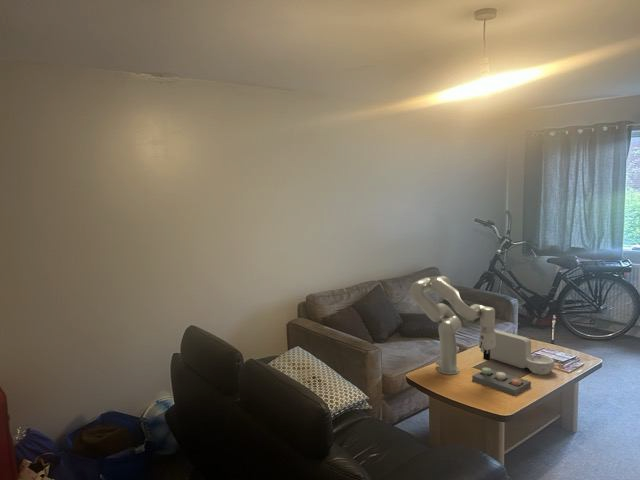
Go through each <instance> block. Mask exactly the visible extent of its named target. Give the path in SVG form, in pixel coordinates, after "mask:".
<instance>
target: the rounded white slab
mask: <svg viewBox="0 0 640 480" xmlns="http://www.w3.org/2000/svg"><path fill="white" fill-rule="evenodd" d="M495 335H496V346H495V347H494V348H492V349H491V353H490V359H492V360H496V361H499V362H501V363H505V364H508V365H510V366H514V367H515V368H516V367H517V368H520V369H525V368H527V367H526V357H528V356H531V355H532V342H531V341H532V340H531V339H530V338H528V337H525V336H522V335H518V334H514V333H511V332H507V331H503V330H498V329H495Z"/></svg>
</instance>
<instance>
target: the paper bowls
mask: <svg viewBox="0 0 640 480" xmlns="http://www.w3.org/2000/svg"><path fill="white" fill-rule="evenodd" d="M526 368H527V369H529V371H530V372H531V373H532V374H535V375H540V376H542V375H544V376H545V375H546V376H547V375H549V374H550V372H552V371H554V370H555V369H554V368H555V361H554V358H551V357H549V356H546V355H542V354H541V355H539V354H531V356H528V357H526Z"/></svg>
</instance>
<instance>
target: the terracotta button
mask: <svg viewBox="0 0 640 480" xmlns="http://www.w3.org/2000/svg"><path fill="white" fill-rule="evenodd" d="M511 385H514V386H517V387H519V386H521V380H519V379H511Z"/></svg>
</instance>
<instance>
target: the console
mask: <svg viewBox="0 0 640 480" xmlns="http://www.w3.org/2000/svg"><path fill="white" fill-rule="evenodd" d="M490 369H491V375H484V374H482V370H481V371H479V372H477V373H475V374H473V375H472V376H471V379H472V380H471V381H472V382H475V383H478V384H481V385H484V386H486V387H489V388H492V389H494V390H498V391H501V392H503V393H506V394H508V395H511V396H517V395H519V394H520V393H522V392H524V391H526V390H528V389H529V388H531V387H532V381H530V380H528V379H524V378H520V377H518V376H514V375H511V374H507V373H505V374H506V379H505V380H499V379H497V378H496V373H497V372H500V371H498V370H496V369H492V368H490ZM511 379H519V380H521V386H519V387H517V386H514V385H511Z"/></svg>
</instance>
